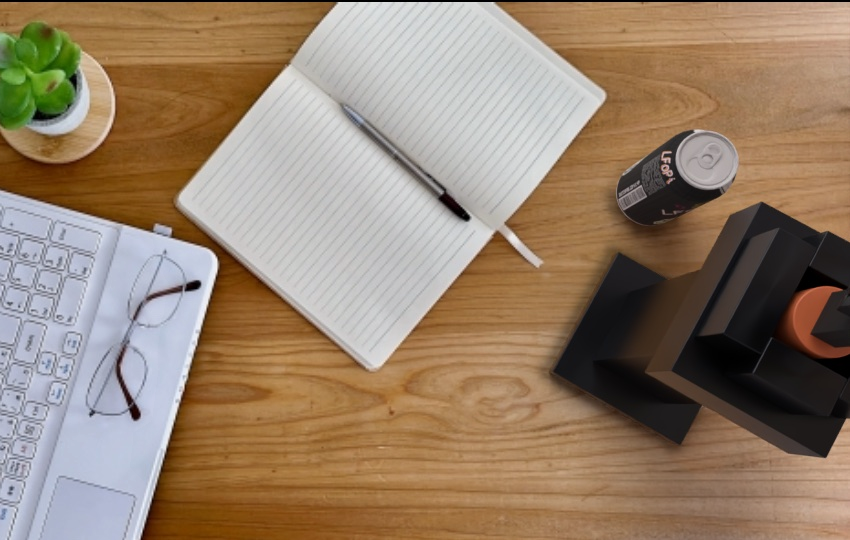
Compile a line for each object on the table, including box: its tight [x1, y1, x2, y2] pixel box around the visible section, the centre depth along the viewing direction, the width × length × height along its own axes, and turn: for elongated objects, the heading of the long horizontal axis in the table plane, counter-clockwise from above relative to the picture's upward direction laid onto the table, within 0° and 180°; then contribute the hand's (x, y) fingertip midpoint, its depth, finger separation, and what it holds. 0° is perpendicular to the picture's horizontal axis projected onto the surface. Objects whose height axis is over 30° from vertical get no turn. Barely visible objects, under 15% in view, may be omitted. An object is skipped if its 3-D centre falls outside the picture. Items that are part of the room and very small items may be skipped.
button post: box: [548, 200, 850, 459], centre depth 61 cm, size 12×12×26 cm
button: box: [771, 286, 850, 359], centre depth 49 cm, size 4×4×3 cm
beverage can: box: [615, 128, 740, 227], centre depth 70 cm, size 6×6×12 cm
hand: (833, 319), depth 47 cm, fingers closed
